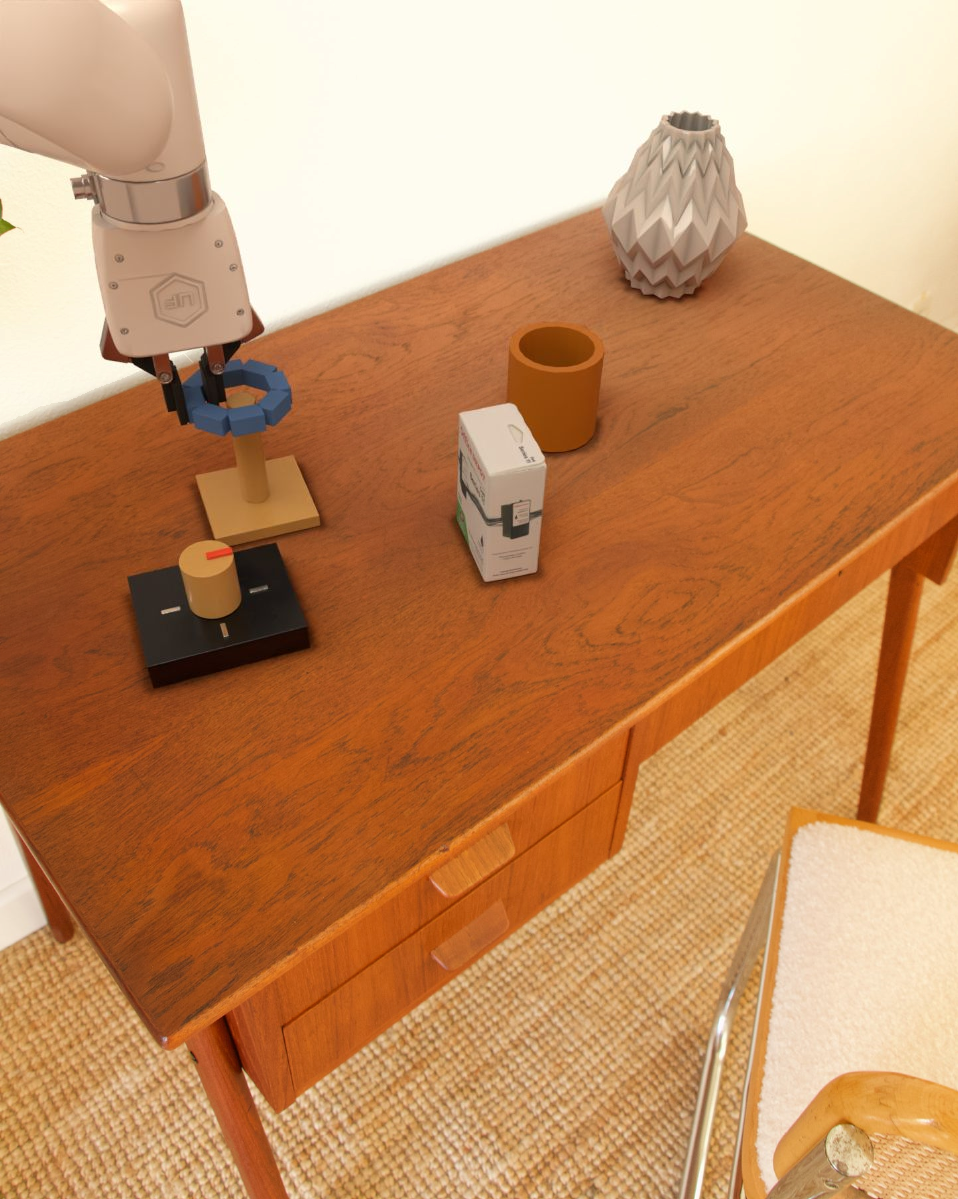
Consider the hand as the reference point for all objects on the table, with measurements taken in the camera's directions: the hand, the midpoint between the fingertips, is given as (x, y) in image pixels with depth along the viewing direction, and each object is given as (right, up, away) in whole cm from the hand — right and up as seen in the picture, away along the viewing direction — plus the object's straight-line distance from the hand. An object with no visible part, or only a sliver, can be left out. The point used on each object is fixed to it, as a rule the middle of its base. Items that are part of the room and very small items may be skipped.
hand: (197, 411), depth 82 cm
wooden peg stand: (+3, -7, +9) cm, 12 cm away
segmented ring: (+3, +1, +1) cm, 3 cm away
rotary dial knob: (+2, -15, -3) cm, 16 cm away
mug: (+31, +3, +20) cm, 36 cm away
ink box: (+24, -11, +6) cm, 27 cm away
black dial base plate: (+2, -17, -1) cm, 17 cm away
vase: (+44, +23, +39) cm, 63 cm away
